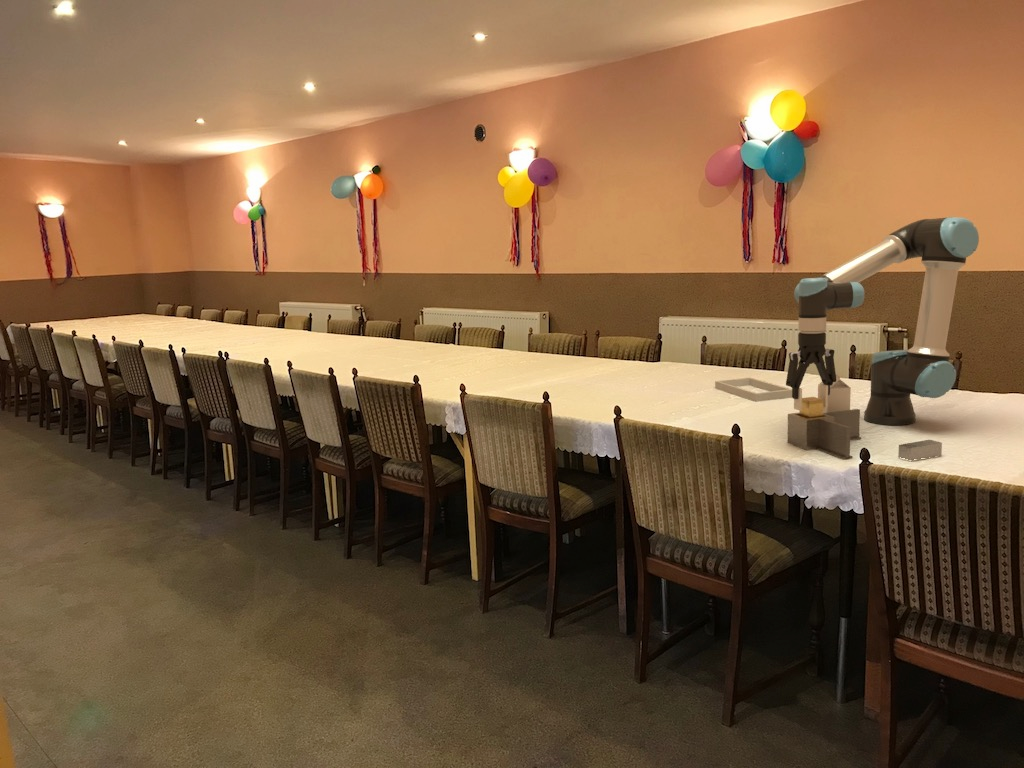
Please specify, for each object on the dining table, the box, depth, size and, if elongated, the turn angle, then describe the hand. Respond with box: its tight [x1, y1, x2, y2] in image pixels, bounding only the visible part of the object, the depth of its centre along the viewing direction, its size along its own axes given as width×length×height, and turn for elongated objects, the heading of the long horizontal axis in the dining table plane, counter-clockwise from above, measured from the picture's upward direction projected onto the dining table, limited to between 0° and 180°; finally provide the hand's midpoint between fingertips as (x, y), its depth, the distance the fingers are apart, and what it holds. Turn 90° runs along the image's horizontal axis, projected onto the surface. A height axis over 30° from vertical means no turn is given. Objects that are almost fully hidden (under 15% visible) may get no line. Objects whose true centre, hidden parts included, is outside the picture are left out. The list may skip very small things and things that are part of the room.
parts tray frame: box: [714, 377, 793, 403], centre depth 300 cm, size 16×30×3 cm, turn 14°
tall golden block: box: [798, 396, 823, 419], centre depth 222 cm, size 5×5×14 cm
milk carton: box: [817, 373, 852, 413], centre depth 233 cm, size 7×7×19 cm
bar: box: [897, 439, 943, 460], centre depth 206 cm, size 11×4×4 cm, turn 109°
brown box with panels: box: [787, 408, 862, 461], centre depth 219 cm, size 21×21×9 cm
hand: (810, 407), depth 222 cm, fingers open, 8 cm apart
